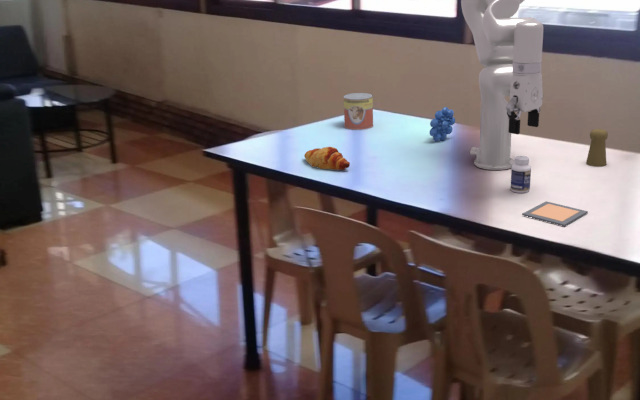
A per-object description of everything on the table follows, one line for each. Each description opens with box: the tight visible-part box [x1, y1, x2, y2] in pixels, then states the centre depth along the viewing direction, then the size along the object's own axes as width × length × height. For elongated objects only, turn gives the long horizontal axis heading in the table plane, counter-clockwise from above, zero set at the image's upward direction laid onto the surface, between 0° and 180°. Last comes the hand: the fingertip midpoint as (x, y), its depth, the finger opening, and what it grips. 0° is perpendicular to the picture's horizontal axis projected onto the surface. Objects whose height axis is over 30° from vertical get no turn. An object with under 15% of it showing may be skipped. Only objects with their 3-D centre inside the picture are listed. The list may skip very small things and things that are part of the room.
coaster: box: [521, 200, 589, 227], centre depth 193 cm, size 12×12×1 cm
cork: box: [585, 128, 609, 168], centre depth 230 cm, size 6×6×11 cm
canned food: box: [342, 92, 374, 131], centre depth 286 cm, size 11×11×12 cm
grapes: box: [429, 106, 456, 142], centre depth 262 cm, size 12×7×12 cm, turn 124°
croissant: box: [303, 146, 351, 171], centre depth 241 cm, size 21×10×8 cm, turn 43°
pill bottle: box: [509, 155, 532, 194], centre depth 210 cm, size 5×5×10 cm
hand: (523, 129), depth 205 cm, fingers open, 9 cm apart
